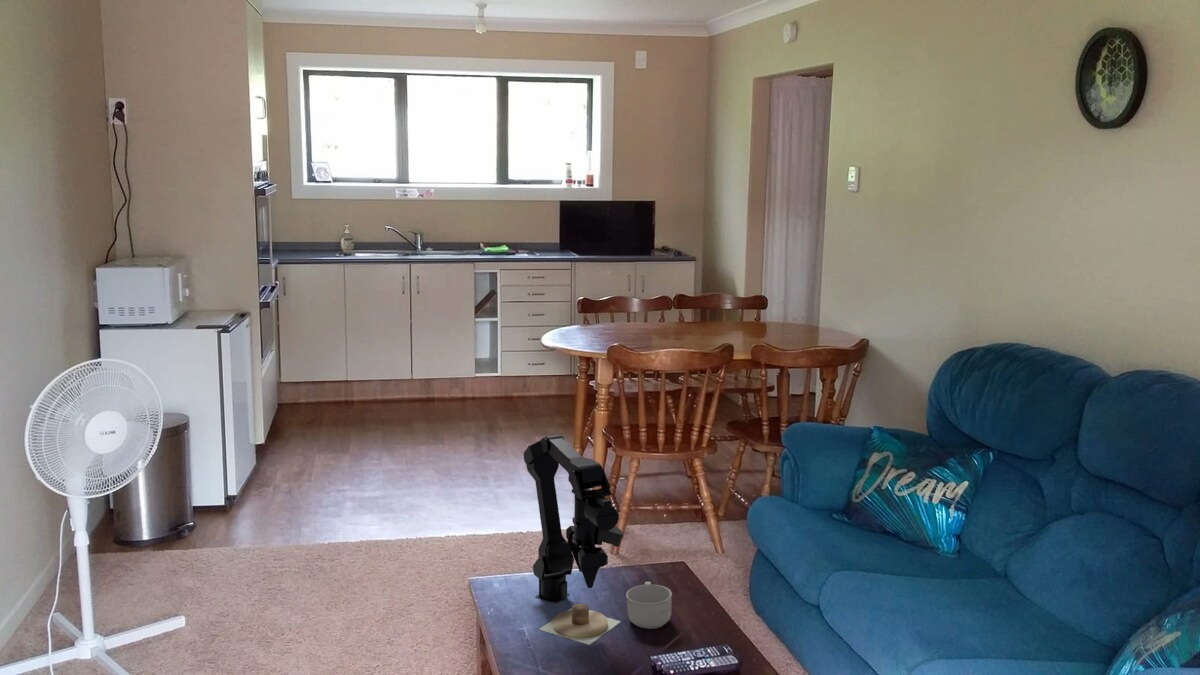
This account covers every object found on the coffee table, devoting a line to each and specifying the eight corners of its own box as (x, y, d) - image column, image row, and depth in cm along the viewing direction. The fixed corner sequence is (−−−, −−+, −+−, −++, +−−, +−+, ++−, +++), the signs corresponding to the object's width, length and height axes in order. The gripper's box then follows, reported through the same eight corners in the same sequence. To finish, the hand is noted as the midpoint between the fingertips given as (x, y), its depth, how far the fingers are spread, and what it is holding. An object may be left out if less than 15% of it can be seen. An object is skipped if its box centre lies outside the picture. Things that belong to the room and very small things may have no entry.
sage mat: (538, 631, 229) (538, 629, 229) (572, 609, 241) (572, 607, 241) (589, 647, 222) (589, 644, 222) (620, 623, 234) (620, 621, 233)
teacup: (668, 636, 227) (668, 604, 226) (622, 632, 229) (622, 599, 228) (675, 611, 241) (676, 580, 240) (632, 606, 243) (632, 576, 242)
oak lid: (541, 629, 229) (541, 611, 229) (572, 608, 240) (572, 591, 239) (588, 643, 222) (588, 624, 222) (618, 621, 233) (618, 603, 233)
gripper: (630, 528, 220) (629, 593, 223) (611, 500, 238) (609, 561, 240) (581, 531, 217) (581, 597, 220) (565, 503, 235) (565, 564, 238)
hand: (585, 579), depth 230 cm, fingers open, 9 cm apart
